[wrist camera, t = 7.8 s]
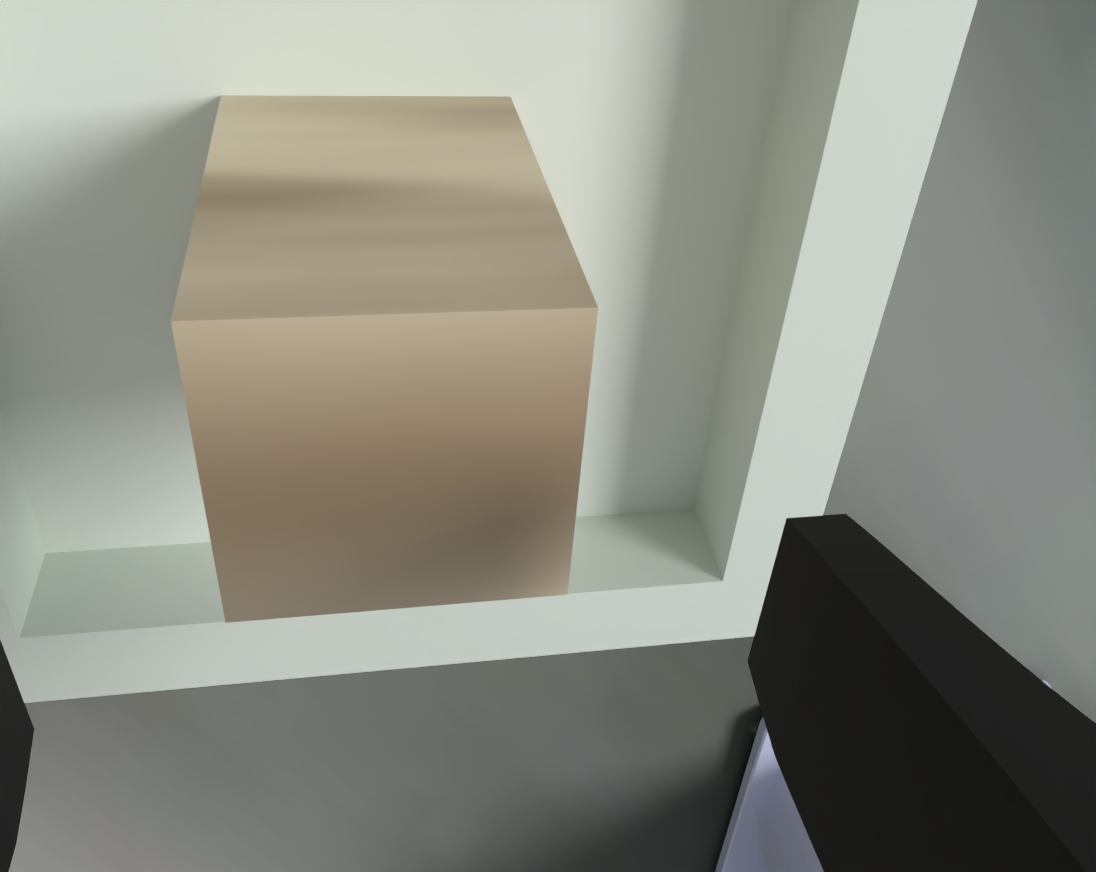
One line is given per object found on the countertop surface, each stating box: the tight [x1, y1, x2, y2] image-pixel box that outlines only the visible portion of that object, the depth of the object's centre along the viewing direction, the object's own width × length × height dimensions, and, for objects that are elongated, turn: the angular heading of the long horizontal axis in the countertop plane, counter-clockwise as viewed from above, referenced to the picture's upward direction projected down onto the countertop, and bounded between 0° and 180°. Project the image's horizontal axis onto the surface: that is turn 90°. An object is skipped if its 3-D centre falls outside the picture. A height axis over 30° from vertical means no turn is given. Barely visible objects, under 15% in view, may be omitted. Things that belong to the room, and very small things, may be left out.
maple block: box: [171, 95, 598, 623], centre depth 13 cm, size 4×4×6 cm
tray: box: [0, 0, 977, 703], centre depth 15 cm, size 15×15×2 cm
